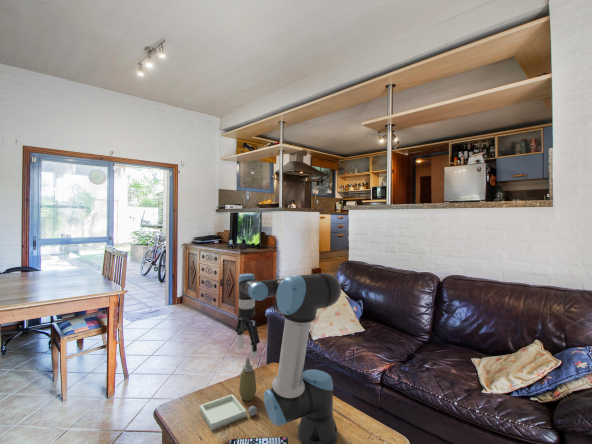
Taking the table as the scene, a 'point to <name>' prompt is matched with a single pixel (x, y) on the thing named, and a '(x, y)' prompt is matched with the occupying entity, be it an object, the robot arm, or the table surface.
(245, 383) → the squeeze bottle
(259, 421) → the table surface
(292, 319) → the robot arm
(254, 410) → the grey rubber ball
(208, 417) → the tray
